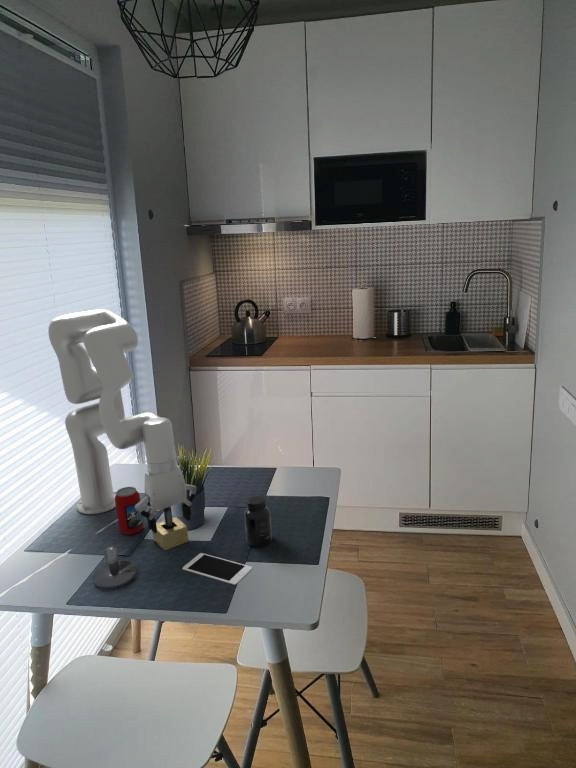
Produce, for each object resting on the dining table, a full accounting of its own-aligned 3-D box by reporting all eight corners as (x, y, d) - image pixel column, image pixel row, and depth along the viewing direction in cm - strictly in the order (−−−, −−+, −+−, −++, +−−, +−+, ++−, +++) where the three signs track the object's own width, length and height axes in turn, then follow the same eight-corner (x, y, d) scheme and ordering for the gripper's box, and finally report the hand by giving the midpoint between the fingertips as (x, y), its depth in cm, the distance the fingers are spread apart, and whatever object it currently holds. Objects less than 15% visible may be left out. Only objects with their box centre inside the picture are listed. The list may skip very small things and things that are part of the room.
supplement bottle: (241, 542, 157) (237, 500, 154) (259, 531, 162) (256, 491, 158) (259, 550, 152) (255, 508, 149) (277, 539, 157) (274, 498, 154)
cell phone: (235, 586, 138) (235, 584, 138) (181, 570, 146) (181, 568, 146) (253, 569, 145) (253, 566, 145) (200, 554, 153) (200, 552, 153)
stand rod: (166, 540, 160) (162, 506, 157) (172, 537, 161) (168, 504, 158) (169, 543, 158) (165, 509, 156) (176, 540, 159) (172, 507, 157)
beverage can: (137, 536, 163) (132, 496, 160) (115, 535, 164) (109, 496, 161) (148, 524, 169) (142, 486, 166) (126, 523, 171) (120, 485, 167)
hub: (88, 576, 145) (83, 547, 143) (127, 561, 151) (123, 533, 149) (102, 595, 138) (97, 564, 135) (143, 578, 143) (138, 549, 141)
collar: (153, 540, 161) (151, 525, 159) (177, 531, 164) (175, 516, 163) (164, 550, 155) (162, 535, 154) (188, 541, 159) (187, 526, 158)
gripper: (186, 452, 161) (193, 509, 166) (125, 470, 152) (134, 531, 156) (198, 459, 156) (206, 518, 160) (136, 479, 146) (145, 541, 150)
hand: (170, 524), depth 158 cm, fingers open, 9 cm apart
